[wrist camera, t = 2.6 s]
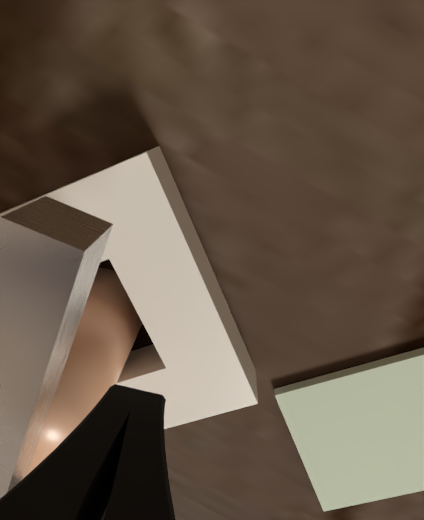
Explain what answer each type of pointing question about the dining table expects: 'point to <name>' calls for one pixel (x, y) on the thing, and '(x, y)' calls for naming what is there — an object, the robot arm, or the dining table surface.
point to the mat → (360, 429)
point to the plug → (91, 359)
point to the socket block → (167, 290)
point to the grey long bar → (39, 316)
